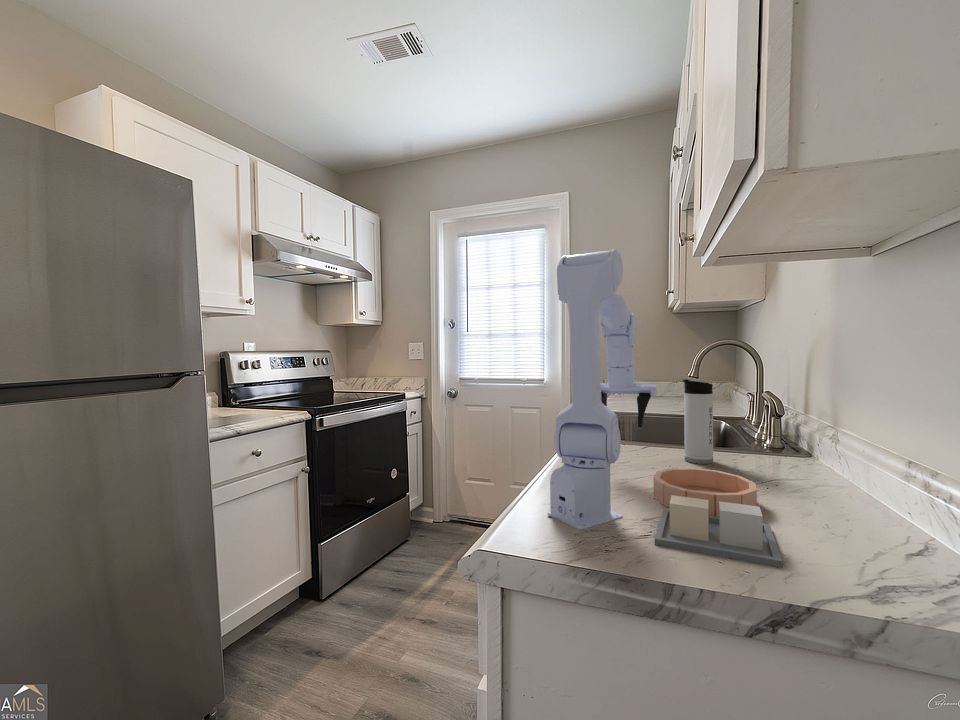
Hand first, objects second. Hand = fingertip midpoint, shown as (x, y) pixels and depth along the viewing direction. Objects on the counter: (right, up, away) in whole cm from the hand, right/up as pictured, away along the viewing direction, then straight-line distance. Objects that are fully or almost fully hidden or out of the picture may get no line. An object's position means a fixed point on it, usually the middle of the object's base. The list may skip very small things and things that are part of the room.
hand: (622, 424), depth 98 cm
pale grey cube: (+4, -11, -37) cm, 39 cm away
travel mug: (+21, -10, +8) cm, 25 cm away
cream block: (-1, -11, -34) cm, 36 cm away
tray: (+1, -11, -36) cm, 37 cm away
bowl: (+8, -11, -20) cm, 24 cm away
